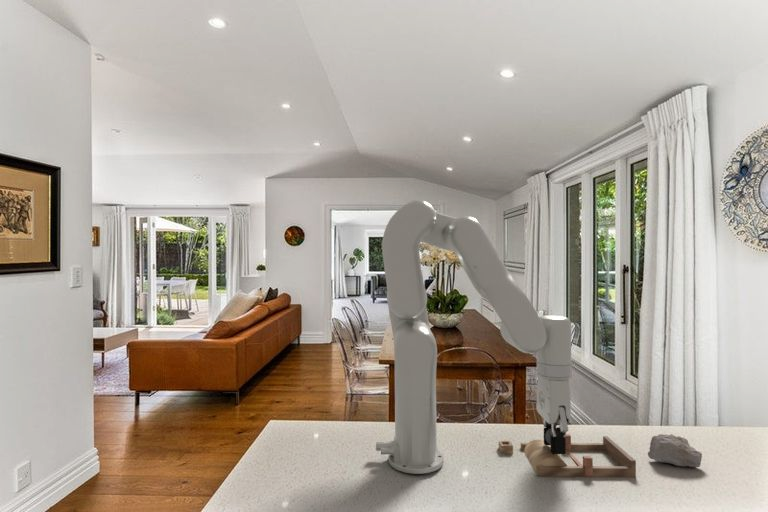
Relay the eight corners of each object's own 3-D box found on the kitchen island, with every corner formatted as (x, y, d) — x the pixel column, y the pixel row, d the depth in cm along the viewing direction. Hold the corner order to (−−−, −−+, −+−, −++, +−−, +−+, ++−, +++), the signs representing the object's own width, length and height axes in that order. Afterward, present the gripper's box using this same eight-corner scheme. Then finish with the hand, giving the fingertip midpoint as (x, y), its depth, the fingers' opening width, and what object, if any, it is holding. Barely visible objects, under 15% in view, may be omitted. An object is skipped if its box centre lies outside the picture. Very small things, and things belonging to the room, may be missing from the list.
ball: (548, 449, 100) (548, 431, 100) (543, 442, 104) (543, 425, 104) (566, 449, 100) (566, 432, 100) (560, 442, 104) (560, 425, 104)
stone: (708, 470, 98) (709, 443, 98) (666, 471, 97) (667, 443, 97) (680, 455, 106) (680, 430, 106) (641, 455, 105) (642, 430, 105)
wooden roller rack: (537, 499, 96) (537, 457, 96) (520, 470, 109) (520, 433, 109) (636, 500, 95) (636, 458, 95) (607, 470, 108) (606, 434, 108)
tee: (501, 455, 106) (501, 445, 106) (498, 450, 109) (498, 440, 109) (513, 455, 106) (512, 445, 106) (510, 450, 109) (510, 440, 109)
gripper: (526, 361, 111) (527, 434, 111) (549, 379, 94) (550, 466, 94) (557, 361, 111) (557, 434, 111) (585, 379, 94) (586, 466, 94)
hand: (554, 448), depth 102 cm, fingers closed on ball, 3 cm apart
